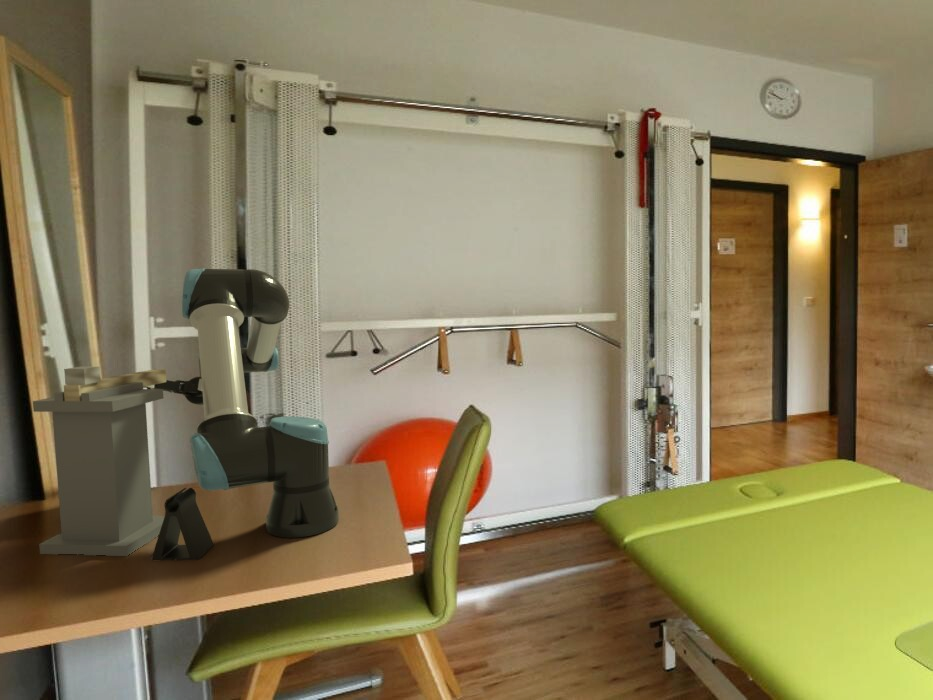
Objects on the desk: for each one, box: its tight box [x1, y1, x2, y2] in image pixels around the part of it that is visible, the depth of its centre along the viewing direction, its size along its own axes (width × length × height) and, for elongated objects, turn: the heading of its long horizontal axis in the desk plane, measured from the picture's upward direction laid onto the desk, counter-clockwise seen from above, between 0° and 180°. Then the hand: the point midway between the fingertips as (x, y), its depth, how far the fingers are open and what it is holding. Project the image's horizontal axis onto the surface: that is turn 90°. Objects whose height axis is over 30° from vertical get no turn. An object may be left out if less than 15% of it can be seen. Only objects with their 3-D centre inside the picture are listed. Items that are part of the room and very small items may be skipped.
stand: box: [32, 382, 165, 557], centre depth 112 cm, size 15×18×32 cm
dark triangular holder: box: [151, 487, 214, 561], centre depth 106 cm, size 9×6×12 cm, turn 90°
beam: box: [63, 366, 167, 401], centre depth 116 cm, size 26×4×6 cm, turn 175°
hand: (170, 381), depth 131 cm, fingers open, 13 cm apart
